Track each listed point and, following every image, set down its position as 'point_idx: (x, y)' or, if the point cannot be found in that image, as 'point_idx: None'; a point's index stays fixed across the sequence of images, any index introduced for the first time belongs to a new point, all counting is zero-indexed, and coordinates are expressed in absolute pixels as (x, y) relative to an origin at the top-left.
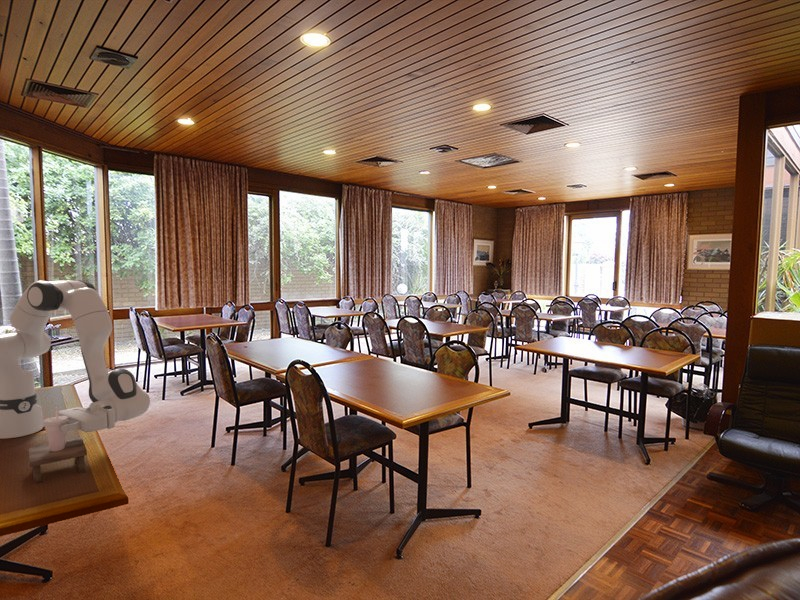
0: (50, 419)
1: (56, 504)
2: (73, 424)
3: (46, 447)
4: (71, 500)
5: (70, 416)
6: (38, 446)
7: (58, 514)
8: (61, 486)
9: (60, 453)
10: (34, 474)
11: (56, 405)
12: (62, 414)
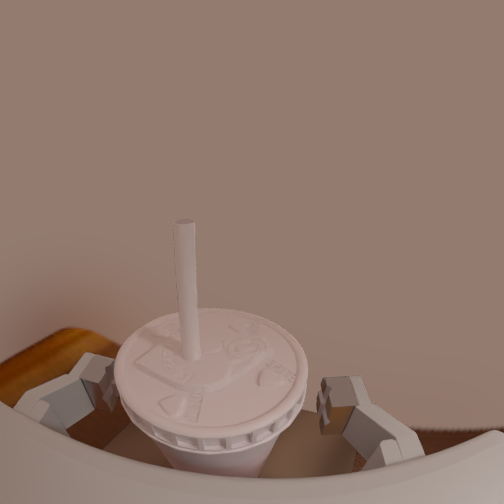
0: (238, 338)
1: (45, 371)
2: (41, 389)
3: (299, 463)
4: (26, 384)
5: (186, 475)
6: (347, 447)
7: (23, 349)
8: (95, 433)
9: (144, 446)
10: None
11: (180, 221)
12: (389, 467)
